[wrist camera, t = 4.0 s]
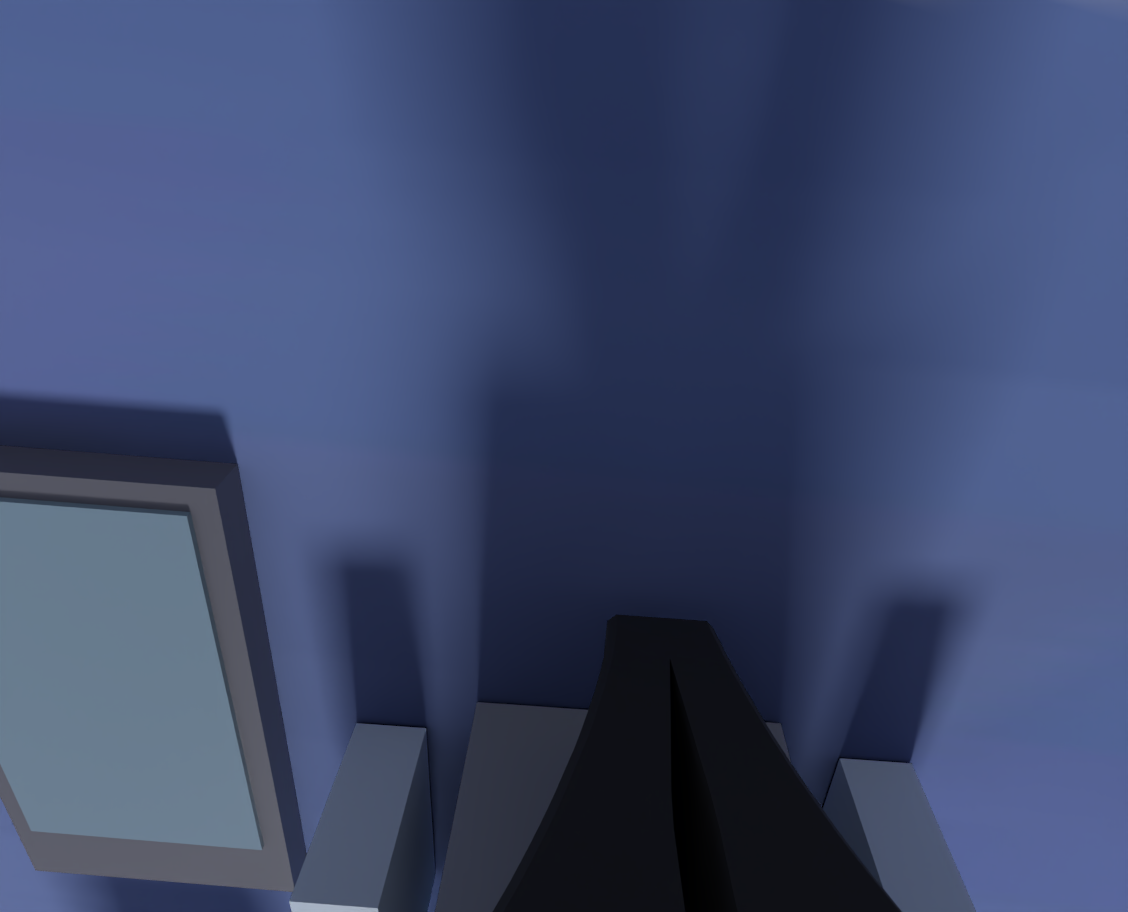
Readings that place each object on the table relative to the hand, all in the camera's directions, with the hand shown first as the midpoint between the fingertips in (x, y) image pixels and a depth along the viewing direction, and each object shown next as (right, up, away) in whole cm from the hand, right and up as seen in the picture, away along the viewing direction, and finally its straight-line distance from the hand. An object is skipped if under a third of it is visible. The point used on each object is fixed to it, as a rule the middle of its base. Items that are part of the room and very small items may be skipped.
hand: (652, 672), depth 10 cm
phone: (-8, -1, +3) cm, 9 cm away
